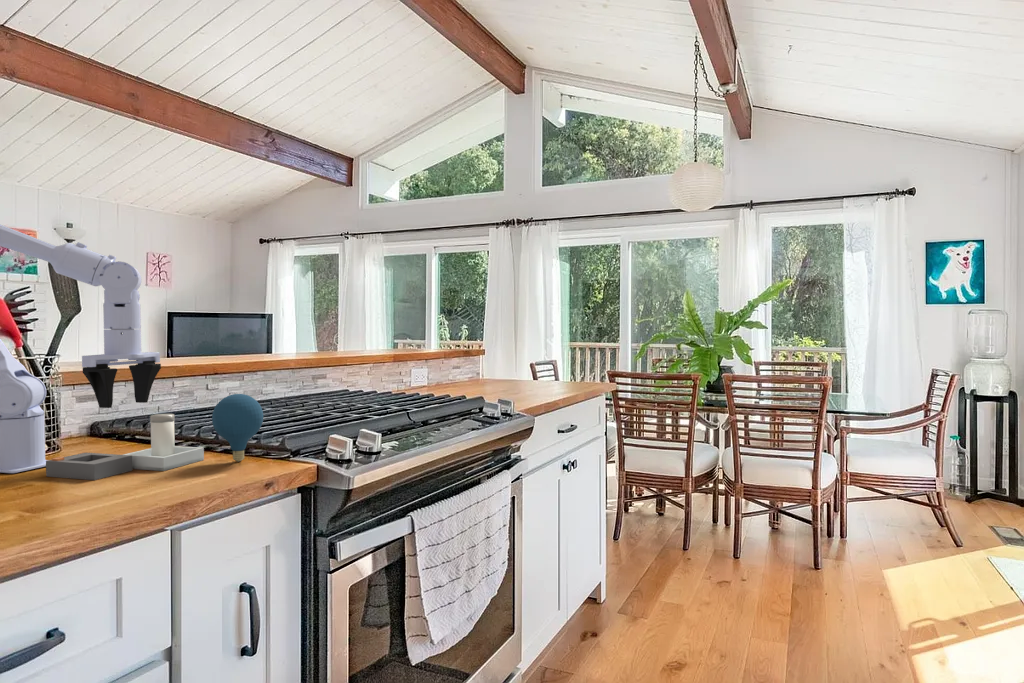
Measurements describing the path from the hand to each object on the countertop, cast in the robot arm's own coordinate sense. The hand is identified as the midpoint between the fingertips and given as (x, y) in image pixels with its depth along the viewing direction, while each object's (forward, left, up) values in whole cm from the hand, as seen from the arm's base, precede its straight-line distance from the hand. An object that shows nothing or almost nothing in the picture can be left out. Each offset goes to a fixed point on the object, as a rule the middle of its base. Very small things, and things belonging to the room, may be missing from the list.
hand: (124, 405), depth 116 cm
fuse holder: (+4, -10, -10) cm, 15 cm away
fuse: (+9, -1, -9) cm, 13 cm away
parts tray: (+10, -1, -10) cm, 14 cm away
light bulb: (+21, +4, -10) cm, 24 cm away
